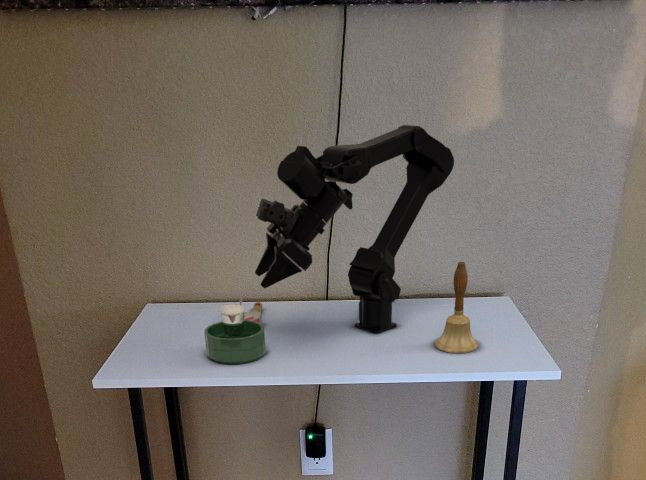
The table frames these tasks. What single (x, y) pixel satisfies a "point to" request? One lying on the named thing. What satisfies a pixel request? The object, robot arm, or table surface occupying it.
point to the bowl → (235, 343)
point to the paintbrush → (255, 313)
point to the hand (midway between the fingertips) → (259, 280)
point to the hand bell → (458, 320)
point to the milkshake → (233, 320)
